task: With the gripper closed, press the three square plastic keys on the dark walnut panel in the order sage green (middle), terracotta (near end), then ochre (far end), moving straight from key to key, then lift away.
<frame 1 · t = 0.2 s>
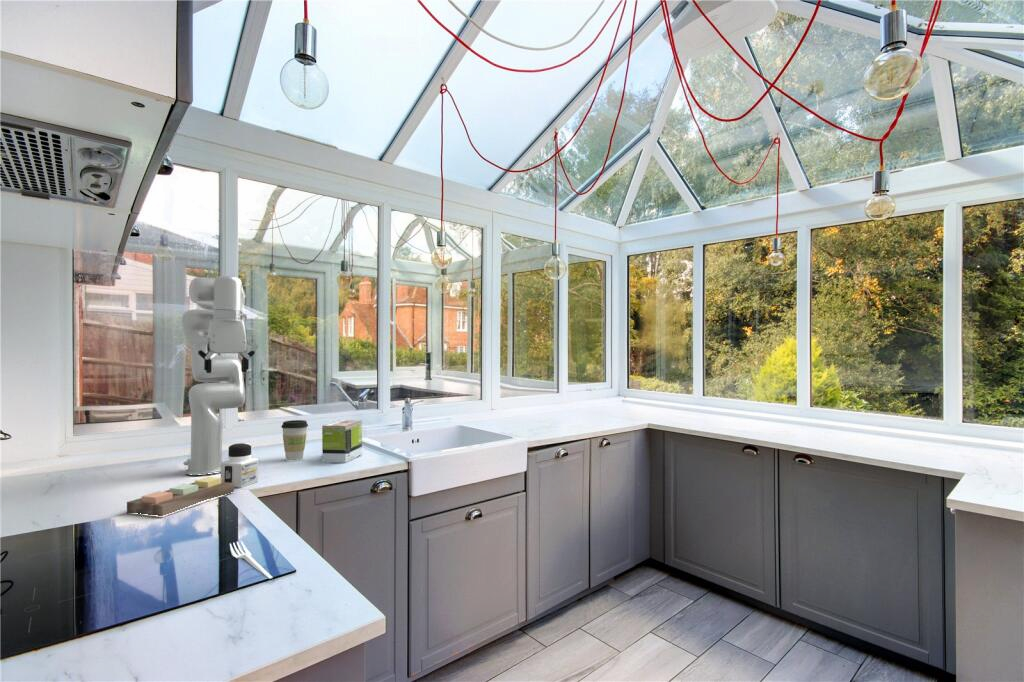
hand: (226, 372, 150), 37 cm above the countertop, tool pointing down, fingers open, 9 cm apart
key panel: (183, 502, 139), on the countertop
ochre key: (208, 484, 147), point 3 cm above the countertop, slide at 0.0 cm
sage key: (184, 491, 139), point 3 cm above the countertop, slide at 0.0 cm
container: (239, 484, 158), on the countertop
tea box: (342, 459, 196), on the countertop
terracotta key: (157, 500, 131), point 3 cm above the countertop, slide at 0.0 cm
coffee cup: (294, 459, 195), on the countertop
fork: (252, 565, 100), on the countertop
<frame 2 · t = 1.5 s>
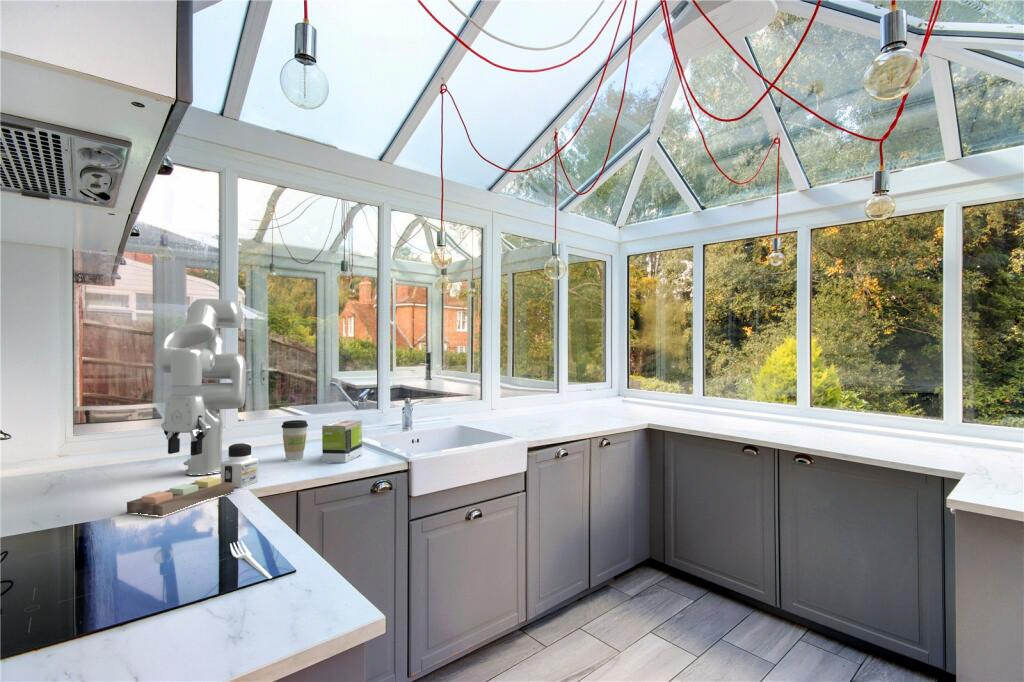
hand: (184, 453, 139), 14 cm above the countertop, tool pointing down, fingers open, 7 cm apart
nothing on the countertop moved.
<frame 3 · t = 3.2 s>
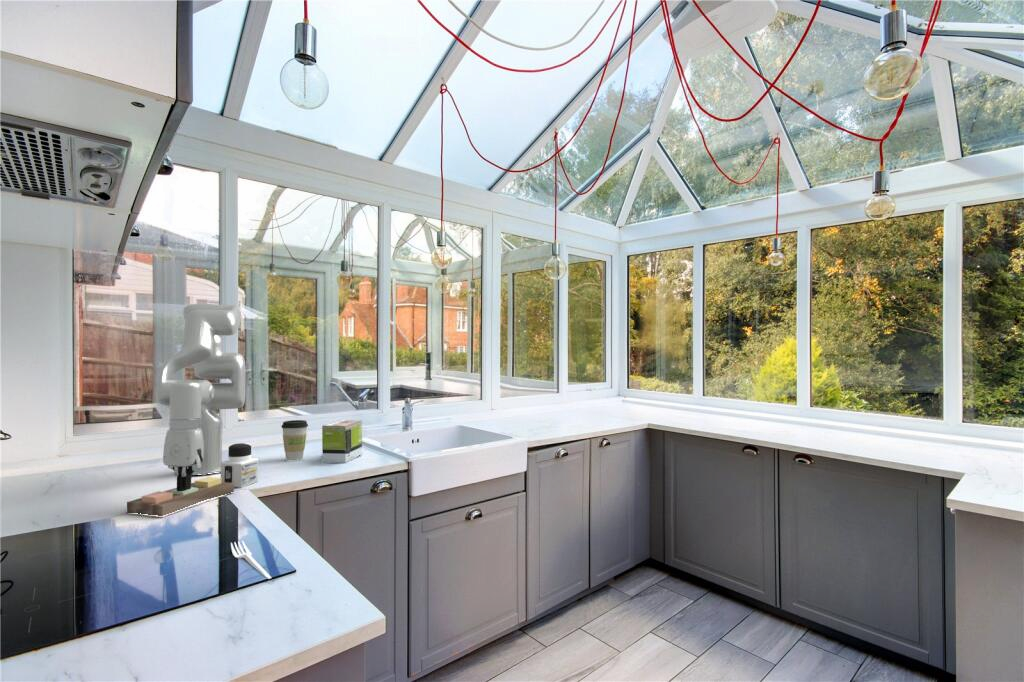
hand: (183, 489, 139), 4 cm above the countertop, tool pointing down, fingers closed
sage key: (184, 494, 139), point 2 cm above the countertop, slide at 0.8 cm, touching gripper
everything else where it was.
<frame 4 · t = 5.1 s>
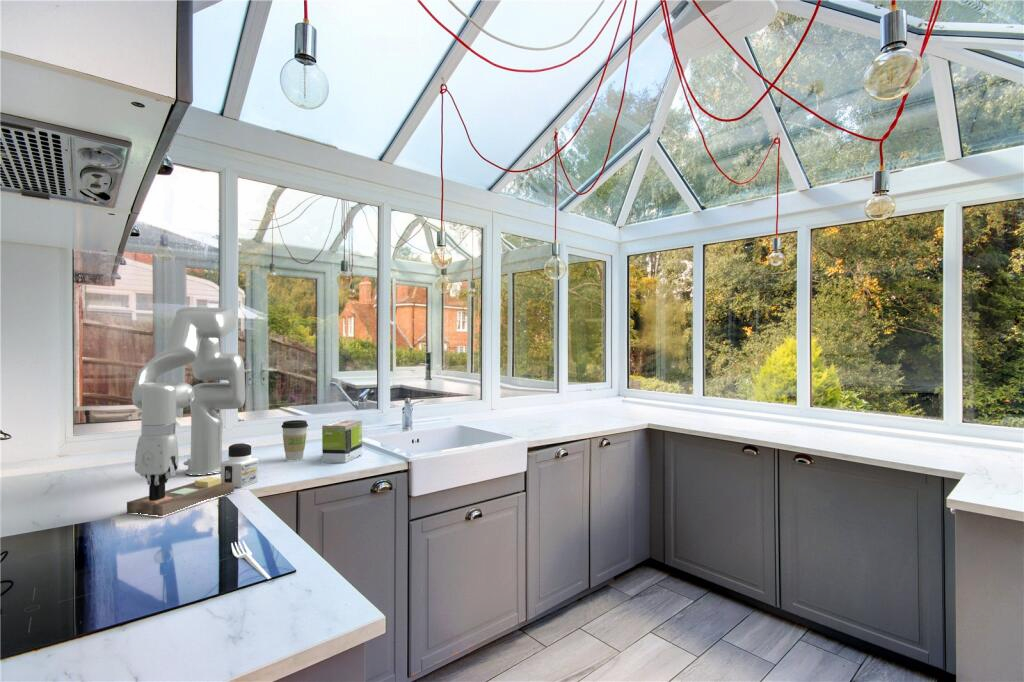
hand: (157, 498, 131), 3 cm above the countertop, tool pointing down, fingers closed
sage key: (184, 496, 139), point 2 cm above the countertop, slide at 1.2 cm
terracotta key: (157, 504, 131), point 2 cm above the countertop, slide at 1.2 cm, touching gripper
everything else where it was.
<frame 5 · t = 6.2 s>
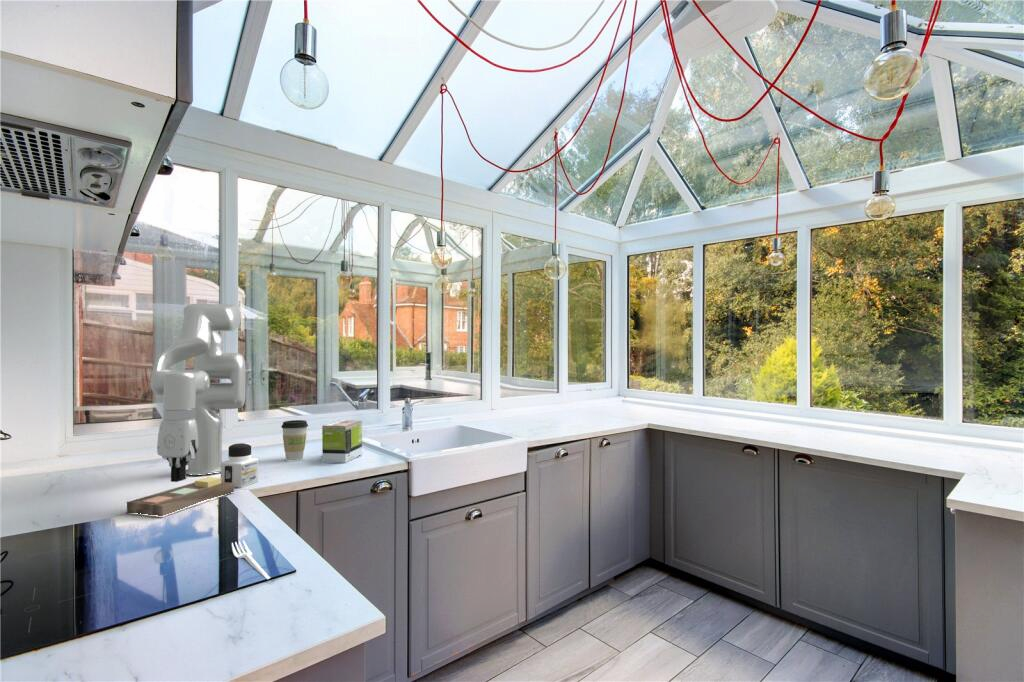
hand: (178, 480, 137), 7 cm above the countertop, tool pointing down, fingers closed
terracotta key: (157, 504, 131), point 2 cm above the countertop, slide at 1.2 cm
everything else where it was.
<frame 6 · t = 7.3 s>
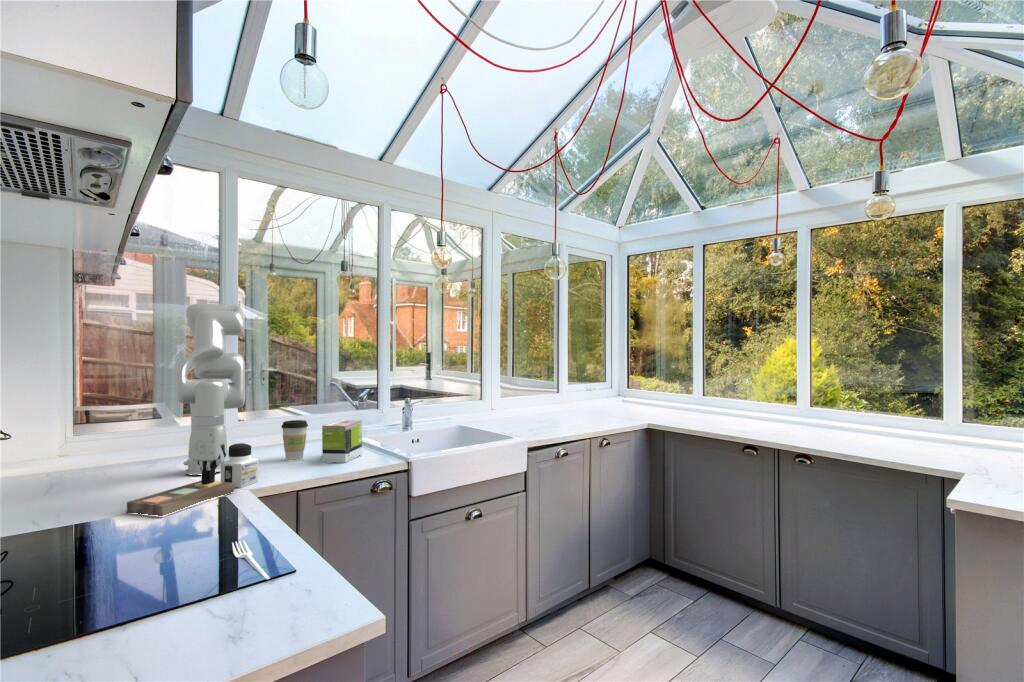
hand: (208, 482, 146), 4 cm above the countertop, tool pointing down, fingers closed
ochre key: (208, 487, 147), point 2 cm above the countertop, slide at 1.0 cm
everything else where it was.
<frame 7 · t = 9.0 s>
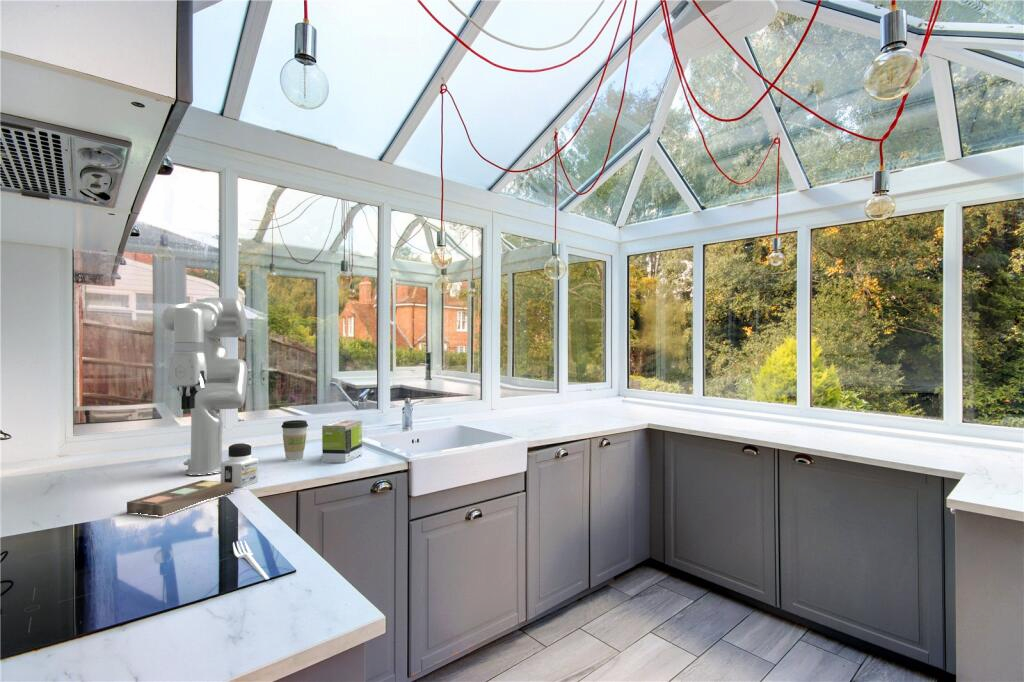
hand: (188, 408, 148), 26 cm above the countertop, tool pointing down, fingers closed
nothing on the countertop moved.
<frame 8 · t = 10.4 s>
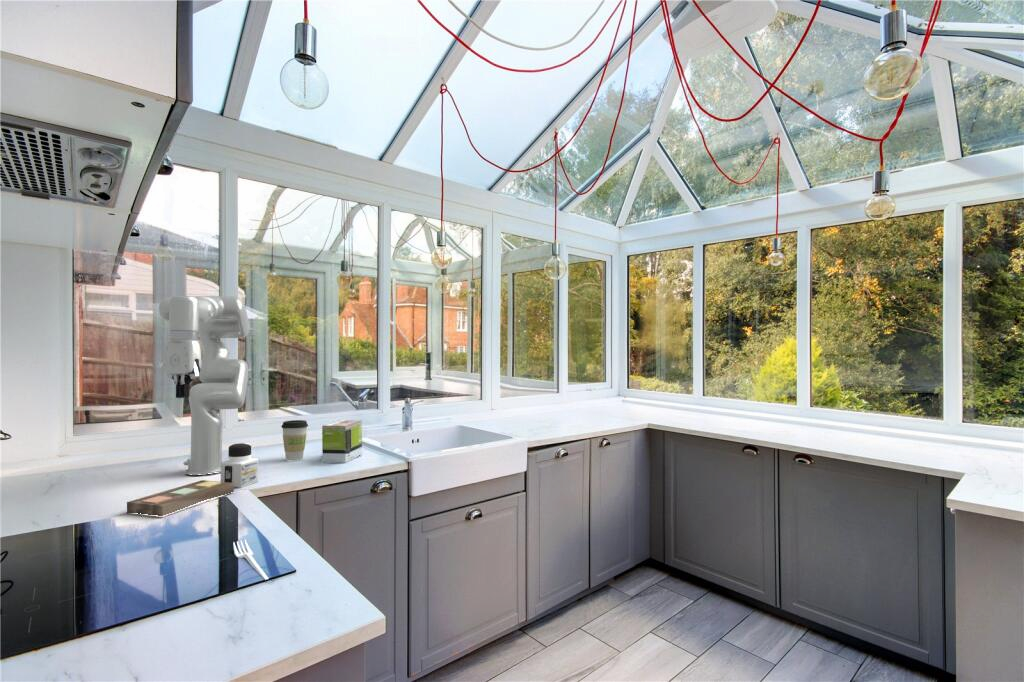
hand: (182, 397, 147), 29 cm above the countertop, tool pointing down, fingers closed
nothing on the countertop moved.
at the end: sage key slide at 1.2 cm; terracotta key slide at 1.2 cm; ochre key slide at 1.2 cm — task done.
